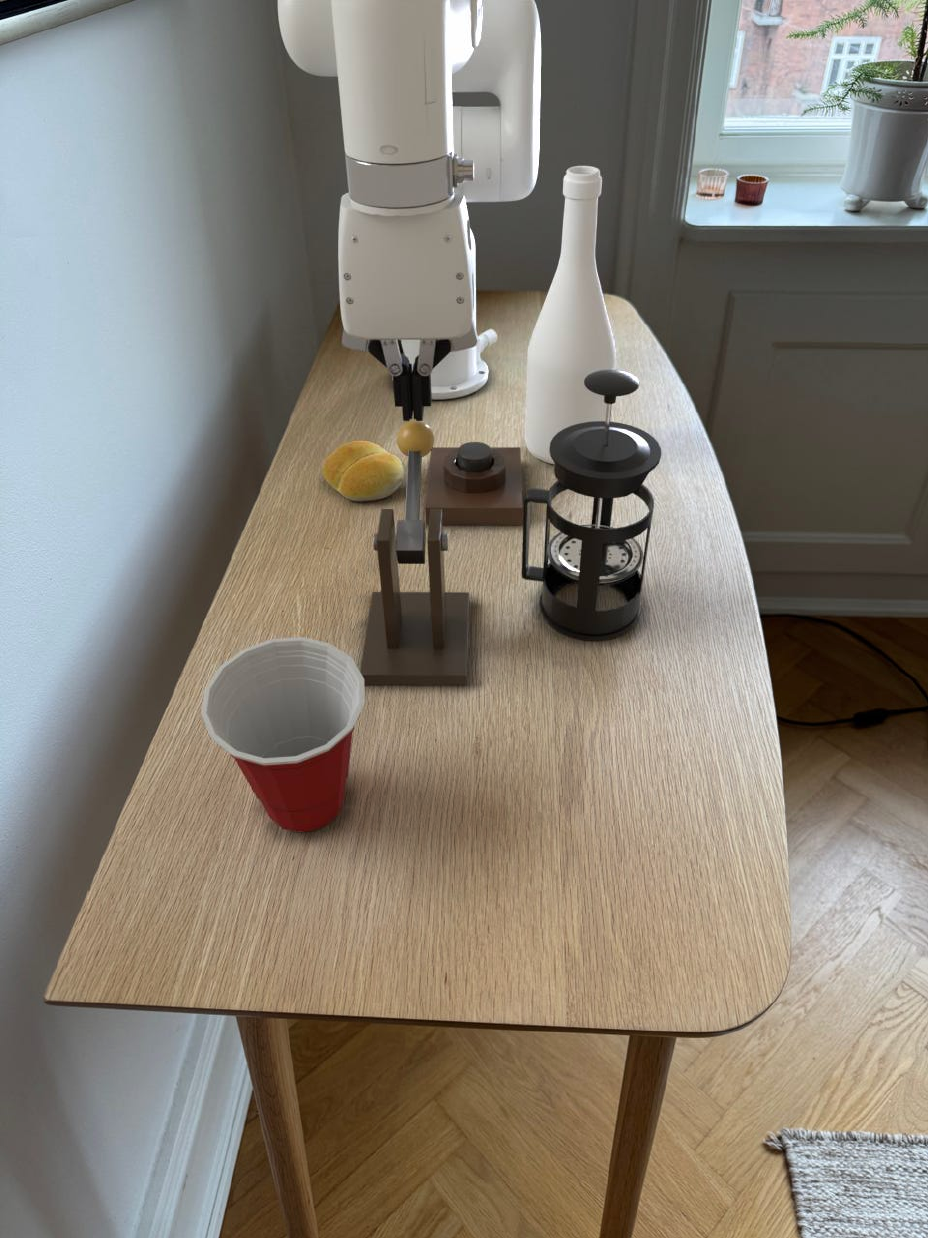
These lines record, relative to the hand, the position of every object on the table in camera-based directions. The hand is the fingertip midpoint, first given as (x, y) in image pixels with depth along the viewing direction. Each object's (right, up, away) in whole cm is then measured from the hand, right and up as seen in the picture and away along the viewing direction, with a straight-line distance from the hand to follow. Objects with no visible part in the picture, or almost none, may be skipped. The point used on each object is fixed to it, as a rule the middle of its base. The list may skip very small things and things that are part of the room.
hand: (413, 412), depth 77 cm
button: (+5, -1, +20) cm, 21 cm away
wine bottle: (+16, +3, +30) cm, 34 cm away
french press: (+15, -16, +8) cm, 24 cm away
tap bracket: (0, -19, +5) cm, 20 cm away
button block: (+5, -4, +23) cm, 24 cm away
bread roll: (-7, -2, +25) cm, 26 cm away
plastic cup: (-8, -31, -8) cm, 33 cm away
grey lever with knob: (0, -7, +1) cm, 7 cm away
